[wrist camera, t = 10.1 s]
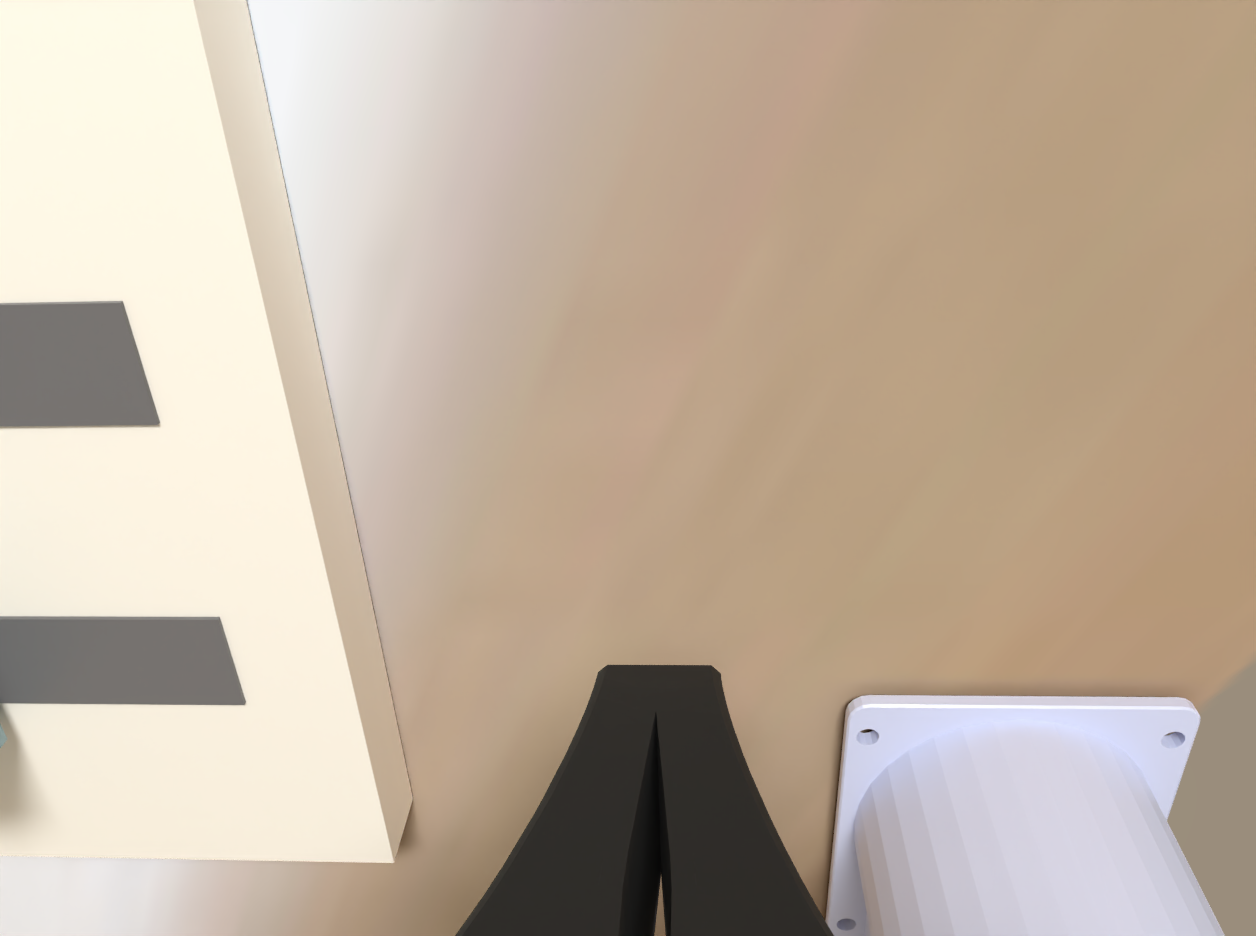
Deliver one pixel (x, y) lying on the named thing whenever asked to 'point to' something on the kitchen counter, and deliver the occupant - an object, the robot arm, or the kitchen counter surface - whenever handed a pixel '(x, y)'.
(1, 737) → the tab
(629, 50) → the kitchen counter surface
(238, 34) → the switch panel
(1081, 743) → the robot arm
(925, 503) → the kitchen counter surface
